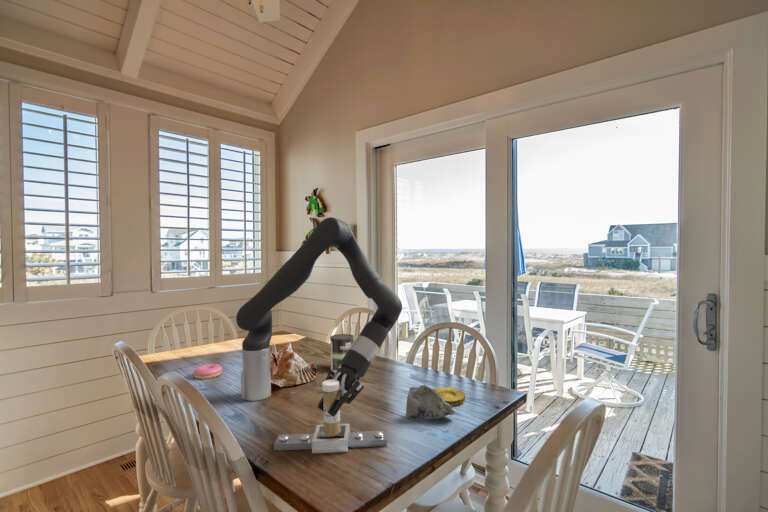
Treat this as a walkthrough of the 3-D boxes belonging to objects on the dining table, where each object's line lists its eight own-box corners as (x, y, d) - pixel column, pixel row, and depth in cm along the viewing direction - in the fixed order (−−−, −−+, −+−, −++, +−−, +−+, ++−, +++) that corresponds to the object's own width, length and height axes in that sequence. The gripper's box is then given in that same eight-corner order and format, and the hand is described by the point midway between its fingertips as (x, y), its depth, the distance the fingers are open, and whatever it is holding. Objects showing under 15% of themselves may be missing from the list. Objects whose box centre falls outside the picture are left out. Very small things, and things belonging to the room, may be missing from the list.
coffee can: (359, 369, 160) (358, 336, 160) (338, 374, 154) (337, 340, 154) (346, 363, 168) (345, 332, 168) (326, 368, 162) (325, 336, 162)
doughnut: (207, 381, 149) (207, 371, 149) (187, 378, 153) (187, 368, 153) (228, 373, 159) (228, 363, 159) (209, 370, 163) (208, 361, 163)
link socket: (312, 453, 94) (311, 441, 94) (317, 435, 103) (316, 424, 103) (347, 451, 94) (347, 439, 94) (349, 434, 103) (349, 423, 103)
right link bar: (348, 447, 96) (348, 439, 96) (349, 437, 101) (349, 429, 101) (387, 446, 96) (386, 437, 96) (386, 436, 101) (386, 428, 101)
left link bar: (273, 450, 95) (273, 442, 95) (278, 440, 100) (278, 432, 100) (313, 449, 96) (313, 440, 96) (316, 439, 101) (315, 431, 101)
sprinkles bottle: (320, 433, 98) (318, 382, 98) (333, 426, 102) (331, 377, 101) (331, 438, 95) (330, 386, 95) (344, 431, 99) (343, 380, 98)
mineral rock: (457, 419, 111) (456, 385, 110) (434, 432, 103) (433, 396, 103) (423, 407, 120) (422, 376, 120) (400, 417, 113) (399, 384, 112)
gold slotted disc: (440, 410, 118) (440, 403, 118) (423, 396, 129) (422, 390, 129) (472, 403, 122) (472, 397, 122) (452, 391, 133) (452, 385, 133)
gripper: (337, 344, 108) (301, 397, 100) (368, 353, 98) (331, 413, 90) (352, 358, 112) (319, 410, 104) (384, 368, 101) (350, 427, 93)
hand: (325, 411), depth 97 cm, fingers closed on sprinkles bottle, 4 cm apart
